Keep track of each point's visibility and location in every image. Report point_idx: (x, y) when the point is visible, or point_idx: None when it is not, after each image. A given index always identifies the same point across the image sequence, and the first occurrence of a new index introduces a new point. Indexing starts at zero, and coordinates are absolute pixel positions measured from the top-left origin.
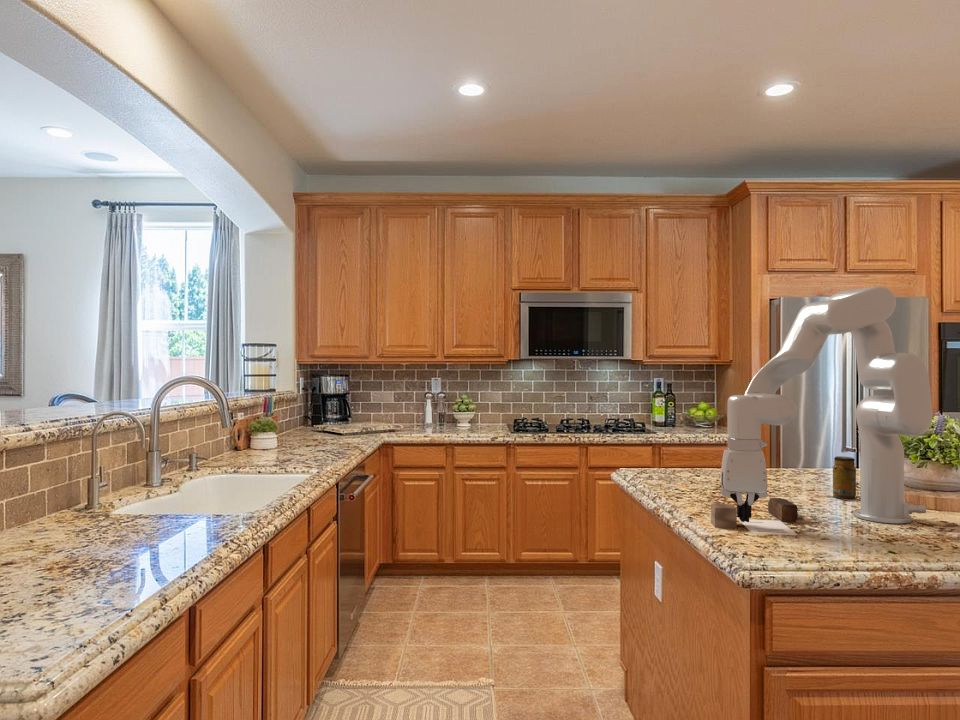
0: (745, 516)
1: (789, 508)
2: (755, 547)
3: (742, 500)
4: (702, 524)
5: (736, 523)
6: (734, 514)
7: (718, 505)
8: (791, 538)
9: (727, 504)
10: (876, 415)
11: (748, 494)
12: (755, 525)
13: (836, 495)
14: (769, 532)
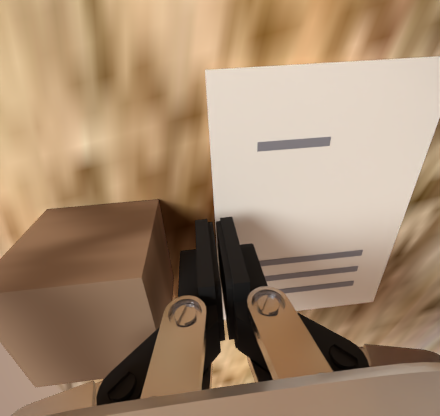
0: (221, 281)
1: None
2: None
3: (211, 383)
4: (8, 238)
5: (171, 297)
6: None
7: (45, 338)
8: (334, 325)
9: (107, 298)
10: None
11: (287, 374)
12: (268, 213)
13: None
14: (288, 298)
